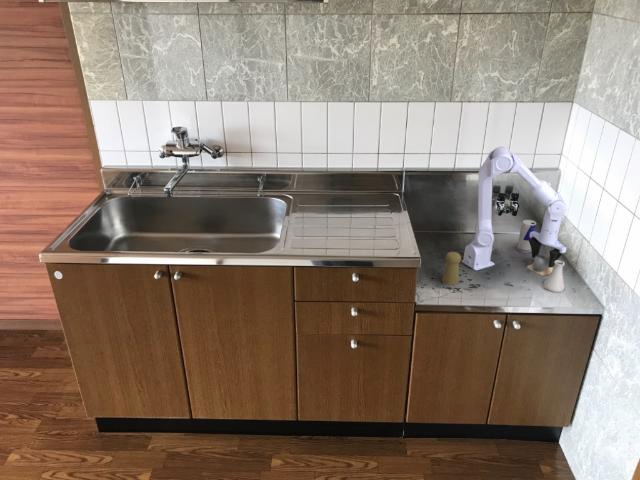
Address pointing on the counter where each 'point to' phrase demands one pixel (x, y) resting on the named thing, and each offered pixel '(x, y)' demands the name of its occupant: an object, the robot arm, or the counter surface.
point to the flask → (555, 278)
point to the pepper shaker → (451, 269)
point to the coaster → (541, 271)
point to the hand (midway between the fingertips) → (542, 261)
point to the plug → (541, 262)
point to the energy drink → (526, 235)
